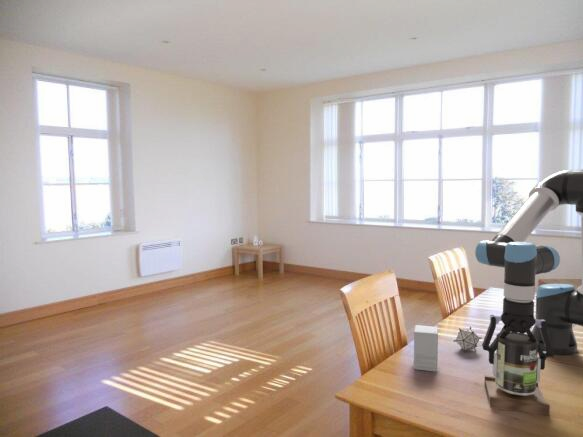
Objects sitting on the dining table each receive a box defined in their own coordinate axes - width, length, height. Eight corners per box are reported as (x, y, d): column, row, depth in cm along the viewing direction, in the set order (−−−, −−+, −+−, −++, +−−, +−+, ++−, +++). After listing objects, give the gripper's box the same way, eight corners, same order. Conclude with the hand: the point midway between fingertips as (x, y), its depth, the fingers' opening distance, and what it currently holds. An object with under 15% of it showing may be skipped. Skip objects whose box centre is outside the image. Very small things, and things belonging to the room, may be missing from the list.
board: (537, 391, 126) (537, 381, 125) (549, 415, 112) (549, 405, 112) (484, 384, 130) (484, 375, 130) (490, 407, 117) (490, 397, 116)
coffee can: (545, 391, 118) (547, 341, 117) (518, 399, 114) (520, 347, 113) (512, 376, 128) (514, 329, 126) (486, 382, 124) (488, 334, 122)
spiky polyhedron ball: (472, 361, 155) (485, 346, 149) (449, 352, 157) (461, 336, 150) (473, 342, 162) (485, 326, 156) (450, 333, 163) (462, 317, 157)
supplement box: (437, 363, 145) (438, 326, 144) (437, 372, 138) (438, 333, 137) (414, 360, 148) (415, 324, 146) (413, 369, 141) (413, 331, 140)
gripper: (561, 298, 119) (558, 377, 121) (472, 292, 126) (470, 366, 128) (570, 305, 112) (565, 389, 114) (475, 299, 119) (472, 377, 121)
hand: (515, 377), depth 121 cm, fingers closed on coffee can, 10 cm apart
